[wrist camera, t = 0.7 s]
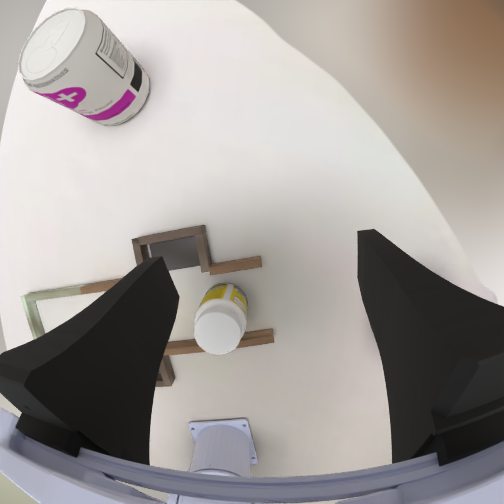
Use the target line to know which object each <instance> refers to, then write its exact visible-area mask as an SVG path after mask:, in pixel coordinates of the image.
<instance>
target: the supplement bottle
mask: <svg viewBox="0 0 504 504" xmlns="http://www.w3.org/2000/svg"><path fill="white" fill-rule="evenodd" d="M194 325H195V327H194V337H195V340H196V342H197V344H198V345H199V346H200V347H201V348H202V349H203V350H204V351H206V352H208V353H211V354H215V355H223V354H227V353H229V352H231V351H233V350H234V349H235V348H236V347H237V346H238V344H239V342H240V339H241V338H242V336H243V335H244V333H245V330H246V325H247V299H246V296H245V294H244V293H243V291H242V290H241V289H240V288H238V287H237V286H235V285H233V284H229V283H221V284H217V285H215V286H213V287H212V288H210V289H209V290H208V292H207V293H206V295H205V297H204V299H203V300H202V302H201V304H200V306H199V308H198V310H197V312H196V314H195V319H194Z"/></svg>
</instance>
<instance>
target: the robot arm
mask: <svg viewBox="0 0 504 504" xmlns="http://www.w3.org/2000/svg"><path fill="white" fill-rule="evenodd" d="M357 233H358V282H359V287H360V291H361V296H362V300H363V304H364V307H365V309H366V312H367V315H368V318H369V321H370V324H371V327H372V330H373V333H374V336H375V339H376V342H377V345H378V349H379V352H380V356H381V360H382V365H383V370H384V376H385V382H386V389H387V396H388V404H389V413H390V424H391V440H392V464H389V465H384V466H379V467H374V468H368V469H363V470H356V471H349V472H342V473H334V474H324V475H312V476H297V477H251V464H257V463H258V459H257V455H256V451H255V447H254V444H253V440H252V436H251V432H250V428H249V424H248V420H247V419H233V420H220V421H204V422H190V423H189V425H188V426H189V429H190V431H191V434H192V436H193V439H194V441H195V448H194V452H193V456H192V461H191V465H190V469H189V472H185V471H178V470H171V469H165V468H160V467H154V466H150V462H149V439H150V424H151V413H152V405H153V398H154V391H155V386H156V380H157V375H158V371H159V368H160V364H161V361H162V358H163V355H164V352H165V349H166V346H167V343H168V340H169V337H170V334H171V331H172V328H173V325H174V322H175V319H176V314H177V309H178V303H179V294H178V292H177V290H176V288H175V285H174V283H173V281H172V278H171V276H170V274H169V271H168V269H167V266H166V264H165V262H164V259H163V257H162V256H160V257H153V258H148V259H146V260H145V261H143V262H142V263H141V264H139V265H138V266H137V267H135V268H134V269H133V270H132V271H130V272H129V273H128V274H127V275H126V276H124V277H123V278H122V279H121V280H120V281H118V282H117V283H116V284H115V285H114V286H113V287H111V288H110V289H109V290H108V291H106V292H105V293H104V294H103V295H102V296H100V297H99V298H98V299H97V300H95V301H94V302H93V303H92V304H90V305H89V306H88V307H86V308H85V309H84V310H82V311H81V312H80V313H78V314H77V315H75V316H74V317H72V318H71V319H69V320H68V321H66V322H65V323H63V324H61V325H60V326H58V327H56V328H55V329H53V330H51V331H50V332H48V333H46V334H44V335H42V336H40V337H38V338H36V339H34V340H32V341H30V342H28V343H26V344H23V345H21V346H18V347H16V348H13V349H11V350H8V351H6V352H3V353H2V354H1V355H0V393H1V394H2V395H3V396H4V397H5V398H6V399H8V400H9V401H10V402H11V403H12V404H13V405H14V406H15V407H16V408H18V410H20V411H21V412H22V414H21V416H20V418H19V417H17V416H16V415H14V414H13V413H10V412H8V411H6V410H5V409H3V408H0V471H1V472H2V473H3V474H4V475H5V476H6V477H7V478H8V479H10V480H11V481H12V482H13V483H14V484H16V485H17V486H18V487H19V488H20V489H22V490H23V491H24V492H25V493H27V494H28V495H29V496H31V497H32V498H33V499H35V500H36V501H37V502H39V503H40V504H263V503H303V502H318V501H329V500H338V499H346V498H352V499H348V500H343V501H339V502H337V503H336V504H504V307H503V306H501V305H498V304H495V303H493V302H490V301H488V300H485V299H483V298H481V297H478V296H476V295H474V294H472V293H470V292H468V291H466V290H464V289H462V288H460V287H458V286H456V285H454V284H452V283H451V282H449V281H447V280H445V279H444V278H442V277H440V276H438V275H437V274H435V273H434V272H432V271H431V270H429V269H428V268H426V267H425V266H423V265H422V264H420V263H419V262H417V261H416V260H415V259H413V258H412V257H410V256H409V255H408V254H406V253H405V252H404V251H402V250H401V249H400V248H398V247H397V246H396V245H395V244H393V243H392V242H391V241H389V240H388V239H387V238H386V237H384V236H383V235H382V234H380V233H379V232H378V231H376V230H375V229H370V230H362V231H357ZM243 424H246V425H243ZM192 427H193V428H192ZM253 457H254V458H253ZM114 479H115V480H118V481H121V482H125V483H128V484H132V485H136V486H140V487H144V488H148V489H152V490H157V491H161V492H166V493H169V494H168V499H167V503H166V502H165V501H162V500H159V499H156V498H153V497H151V496H148V495H146V494H144V493H142V492H139V491H138V490H136V489H135V488H133V487H131V486H128V485H125V484H122V483H119V482H116V481H115V480H114ZM360 496H361V497H360ZM353 497H357V498H353Z"/></svg>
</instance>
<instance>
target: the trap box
mask: <svg viewBox="0 0 504 504" xmlns="http://www.w3.org/2000/svg"><path fill="white" fill-rule="evenodd" d="M193 235H195V236H193ZM188 236H190V237H188ZM182 237H185V238H182ZM177 238H179V239H177ZM171 239H174V240H171ZM166 240H169V241H166ZM161 241H163V242H161ZM155 242H158V243H155ZM150 243H153V244H150ZM132 244H133V249H134V254H135V259H136V263H137V266H138V265H139V264H141V263H142V262H143V261H145V260H146V259H148V258H149V254H148V249H147V244H149V245H150V250H151V255H152V258H153V257H160V256H162V257H163V259H164V262H165V264H166V266H167V269H168V271H169V270H176V269H182V268H188V267H194V266H201V271H202V272H209V271H210V275H215V274H221V273H227V272H234V271H240V270H246V269H252V268H258V267H262V264H261V258H260V256H256V257H250V258H244V259H238V260H232V261H226V262H220V263H214V264H212V263H211V258H210V253H209V247H208V242H207V237H206V231H205V226H204V225H200V226H195V227H189V228H184V229H179V230H174V231H168V232H163V233H158V234H153V235H148V236H143V237H138V238H135V239H132ZM121 279H122V278H121ZM121 279H115V280H109V281H102V282H96V283H90V284H83V285H77V286H71V287H64V288H58V289H51V290H45V291H39V292H32V293H28V294H26V295H23V296H21V300H22V303H23V307H24V310H25V314H26V317H27V320H28V323H29V326H30V329H31V332H32V335H33V338H34V339H36V338H38V337H40V336H42V335H44V334H45V332H44V329H43V326H42V323H41V320H40V316H39V313H38V310H37V306H36V303H35V301H36V300H44V299H51V298H59V297H66V296H73V295H81V294H88V293H95V292H102V291H108V290H109V289H110V288H111V287H113V286H114V285H115V284H116V283H117V282H118V281H120V280H121ZM268 343H274V337H273V330H272V329H267V330H260V331H254V332H247V333H244V335H243V336H242V338H241V339H240V342H239V344H238V346H237V347H236V348H240V347H248V346H255V345H261V344H268ZM198 352H206V351H204V350H203V349H202V348H201V347H200V346H199V345H198V344H197V342H196V340H195V339H192V340H183V341H173V342H168V343H167V346H166V349H165V352H164V355H163V358H162V361H161V364H160V368H159V371H158V375H157V380H156V386H155V387H164V386H172V384H173V382H174V379H175V375H174V372H173V369H172V366H171V363H170V359H169V356H168V355H177V354H188V353H198Z"/></svg>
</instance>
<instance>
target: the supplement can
mask: <svg viewBox="0 0 504 504" xmlns="http://www.w3.org/2000/svg"><path fill="white" fill-rule="evenodd" d="M18 65H19V66H18V67H19V73H20V74H21V76H22V77H23V80H24V83H25V84H26V85H27V87H28V88H29V89H30V90H31V91H33V92H35V93H37V94H39V95H41V96H44V97H46V98H48V99H50V100H52V101H54V102H56V103H58V104H60V105H62V106H64V107H67V108H69V109H71V110H73V111H75V112H77V113H79V114H81V115H83V116H85V117H87V118H89V119H91V120H93V121H95V122H97V123H100V124H102V125H105V126H110V125H118V124H120V123H123V122H125V121H127V120H129V119H130V118H131V117H132V116H134V115H135V114H136V113H137V112H138V111H139V110H140V108H141V107H142V105H143V104H144V103H145V101H146V98H147V95H148V92H149V78H148V76H147V74H146V71H145V70H144V69H143V68H142V67H141V65H140V64H139V63H138V62H137V61H136V59H135V58H134V57H133V56H132V55H131V54H130V52H129V51H128V50H127V49H126V48H125V47H124V45H123V44H122V43H121V42H120V41H119V40H118V38H117V37H116V36H115V35H114V34H113V33H112V32H111V30H110V29H109V28H108V27H107V26H106V25H105V24H104V22H103V21H102V20H101V19H100V18H99V17H98V16H97V15H96V14H94V13H93V12H91V11H89V10H80V9H78V8H65V9H62V10H60V11H57V12H55V13H54V14H52V15H51V16H49V17H48V18H46V19H45V20H44V21H43V22H42V23H41V24H39V25H38V26H37V27H36V28H35V30H34V31H33V32H32V33H31V35H30V36H29V38H28V39H27V41H26V42H25V44H24V46H23V48H22V51H21V53H20V57H19V62H18Z"/></svg>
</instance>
